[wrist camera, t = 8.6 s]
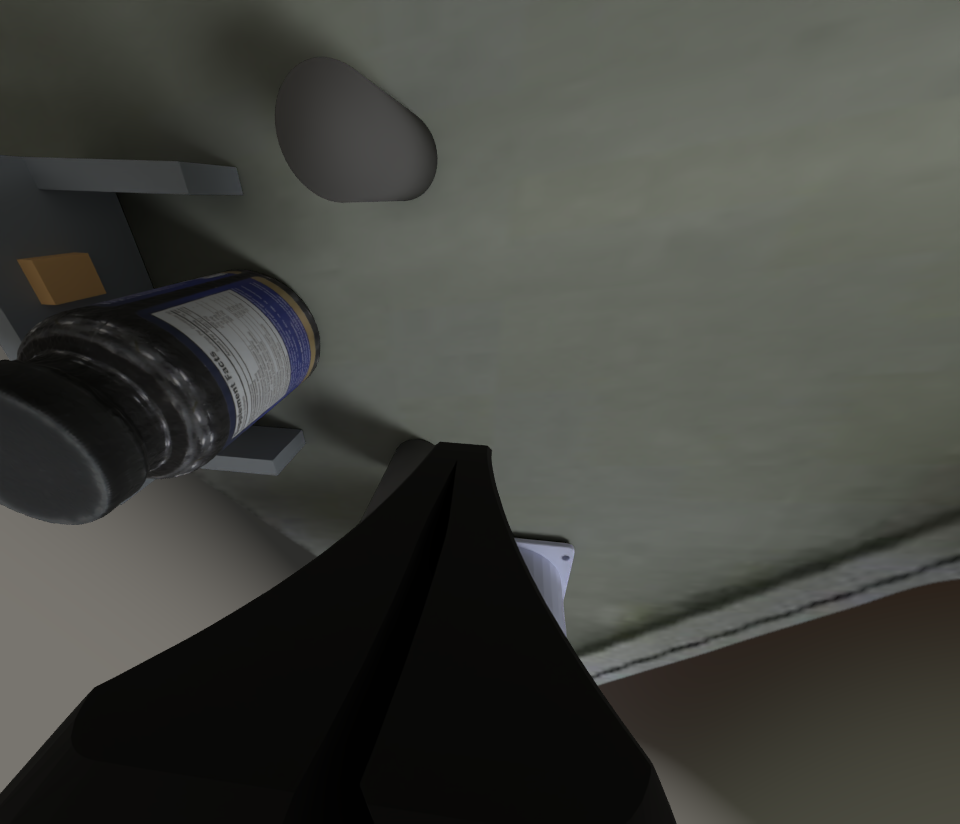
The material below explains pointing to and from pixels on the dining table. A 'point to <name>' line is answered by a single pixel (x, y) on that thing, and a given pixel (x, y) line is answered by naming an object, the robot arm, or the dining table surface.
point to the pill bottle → (144, 389)
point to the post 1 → (351, 136)
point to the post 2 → (399, 470)
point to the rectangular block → (100, 258)
